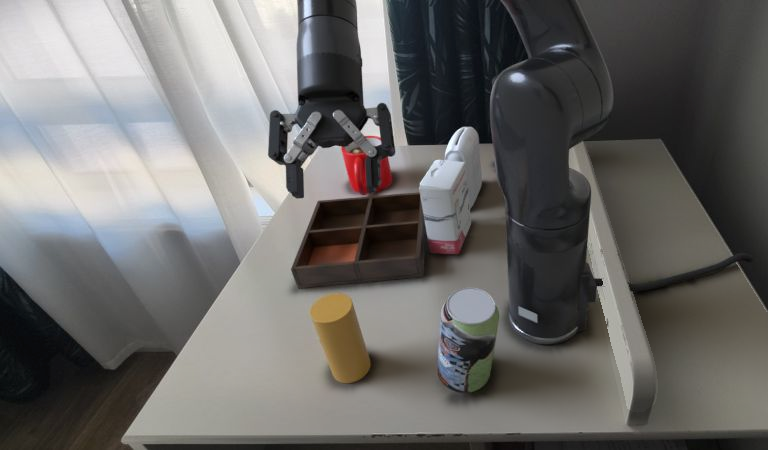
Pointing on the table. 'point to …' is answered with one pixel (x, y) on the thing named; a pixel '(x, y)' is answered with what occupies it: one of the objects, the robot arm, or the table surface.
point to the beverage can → (467, 339)
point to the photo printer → (467, 158)
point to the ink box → (446, 206)
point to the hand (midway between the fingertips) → (335, 194)
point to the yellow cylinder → (341, 337)
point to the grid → (362, 241)
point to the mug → (356, 166)
